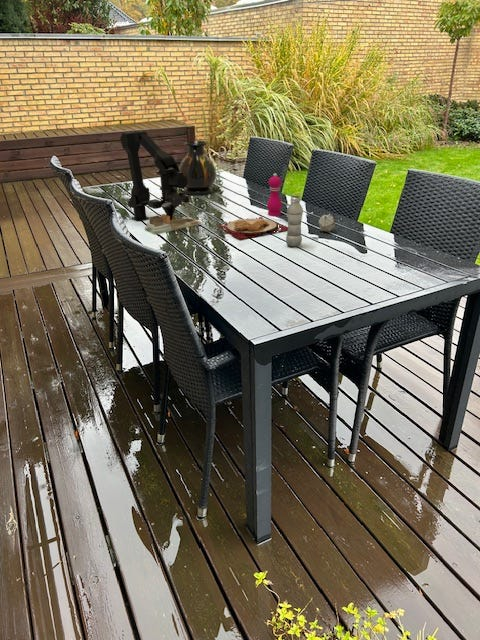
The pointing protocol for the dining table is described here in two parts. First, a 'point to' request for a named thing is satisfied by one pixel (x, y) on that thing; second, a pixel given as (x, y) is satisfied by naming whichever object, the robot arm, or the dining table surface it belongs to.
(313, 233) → the dining table surface
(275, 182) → the pepper mill
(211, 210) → the dining table surface
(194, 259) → the dining table surface
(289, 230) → the plastic bottle
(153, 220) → the block
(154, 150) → the robot arm
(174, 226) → the deck
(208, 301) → the dining table surface
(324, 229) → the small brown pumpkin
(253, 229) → the plate with food
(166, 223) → the sled
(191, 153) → the amphora vase
